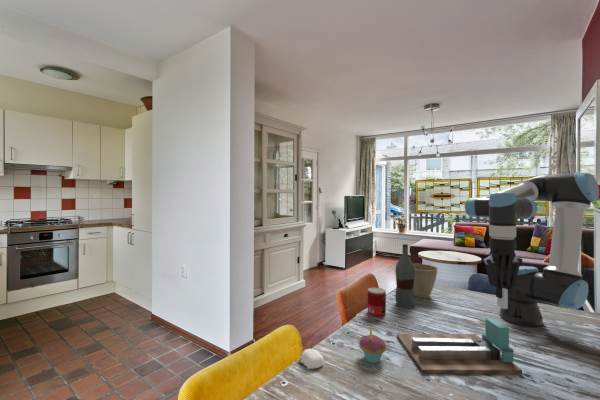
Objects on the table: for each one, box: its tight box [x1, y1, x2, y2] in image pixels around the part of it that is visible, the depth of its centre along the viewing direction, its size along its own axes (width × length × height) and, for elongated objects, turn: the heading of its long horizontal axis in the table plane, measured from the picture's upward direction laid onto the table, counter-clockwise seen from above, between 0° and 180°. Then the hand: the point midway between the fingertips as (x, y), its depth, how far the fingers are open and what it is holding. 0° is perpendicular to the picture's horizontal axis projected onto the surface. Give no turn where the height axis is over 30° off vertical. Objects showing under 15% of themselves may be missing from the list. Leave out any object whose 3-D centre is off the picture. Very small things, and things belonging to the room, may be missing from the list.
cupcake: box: [359, 324, 387, 364], centre depth 95 cm, size 9×8×12 cm
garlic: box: [299, 347, 325, 370], centre depth 92 cm, size 8×7×4 cm
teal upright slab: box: [481, 318, 514, 363], centre depth 96 cm, size 3×11×10 cm, turn 0°
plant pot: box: [413, 263, 438, 299], centre depth 156 cm, size 15×15×16 cm
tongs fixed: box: [419, 338, 501, 360], centre depth 96 cm, size 25×7×3 cm, turn 90°
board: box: [396, 333, 523, 375], centre depth 98 cm, size 30×23×1 cm
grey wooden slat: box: [412, 338, 475, 350], centre depth 99 cm, size 20×2×3 cm, turn 87°
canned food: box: [367, 287, 387, 318], centre depth 132 cm, size 8×8×11 cm
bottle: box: [394, 243, 416, 309], centre depth 143 cm, size 9×9×30 cm
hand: (502, 307), depth 98 cm, fingers closed
